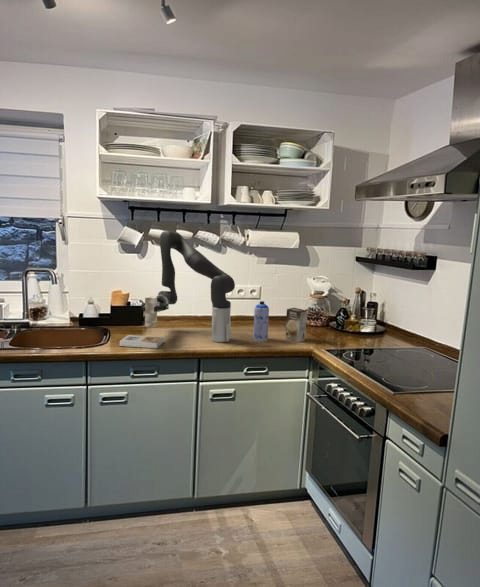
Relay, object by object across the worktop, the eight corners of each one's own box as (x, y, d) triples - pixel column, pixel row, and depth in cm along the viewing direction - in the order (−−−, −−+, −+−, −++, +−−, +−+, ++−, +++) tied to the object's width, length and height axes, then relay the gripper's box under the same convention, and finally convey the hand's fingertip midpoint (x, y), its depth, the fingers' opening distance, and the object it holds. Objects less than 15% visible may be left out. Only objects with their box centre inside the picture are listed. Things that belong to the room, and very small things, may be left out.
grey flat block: (163, 342, 229) (163, 336, 228) (156, 348, 217) (156, 342, 216) (128, 339, 230) (128, 334, 230) (119, 346, 218) (119, 340, 218)
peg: (156, 325, 223) (157, 296, 221) (154, 327, 219) (154, 298, 217) (147, 324, 224) (147, 296, 222) (145, 326, 219) (145, 297, 217)
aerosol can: (269, 338, 243) (271, 300, 240) (266, 341, 236) (268, 303, 233) (254, 336, 245) (256, 299, 242) (251, 340, 238) (252, 302, 235)
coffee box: (284, 338, 244) (285, 308, 241) (291, 336, 248) (293, 307, 246) (298, 342, 238) (300, 311, 235) (305, 340, 242) (307, 310, 240)
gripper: (145, 295, 234) (134, 300, 217) (173, 296, 233) (164, 302, 216) (145, 309, 235) (134, 316, 219) (173, 311, 234) (164, 318, 217)
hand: (149, 309), depth 217 cm, fingers closed on peg, 4 cm apart
